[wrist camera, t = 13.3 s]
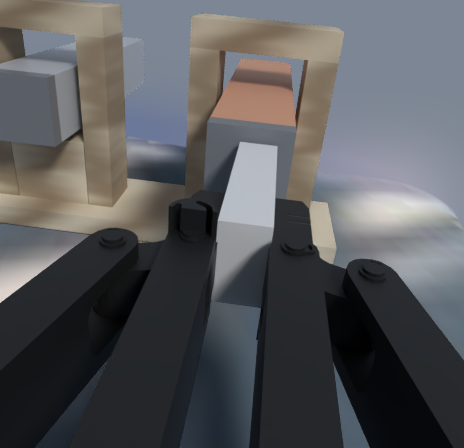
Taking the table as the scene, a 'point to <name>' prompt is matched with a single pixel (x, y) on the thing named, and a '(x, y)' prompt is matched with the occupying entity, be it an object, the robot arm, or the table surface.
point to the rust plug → (252, 121)
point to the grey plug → (52, 93)
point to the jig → (113, 120)
